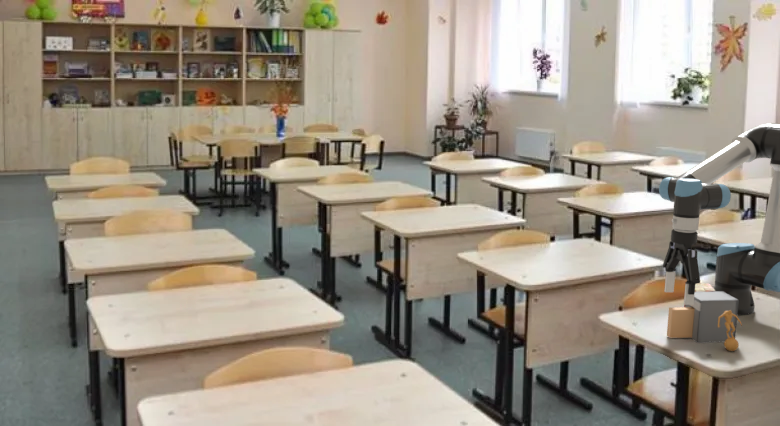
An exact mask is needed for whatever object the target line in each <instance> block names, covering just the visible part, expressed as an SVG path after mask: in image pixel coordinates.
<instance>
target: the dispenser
mask: <svg viewBox="0 0 780 426" xmlns="http://www.w3.org/2000/svg"><path fill="white" fill-rule="evenodd" d="M738 304H739V300H738V299H736V298H734V297H732V296H730V295H729V294H727V293H725V292H723V291H698V292H695V294H694V305H685V307H693V308H695V310H694V322H693V334H692V338H691V339H692V340H693V341H695V342H696V343H697V344H698V343H699V344H700V343H703V344H704V343H724V342H725V340H726V339H728V336H727V332H726V331H727V328H726V326H725V322H726V320H725V317H722V318H720V323H719V325H720V327H719V328H718V317H719V316H721V315H722V314H723V313H724V312H725V311H729V310H731V311H732V313H733V314H735V315H736V316H737V317H738V316H739V315H738ZM731 322H733V325H734V327H735V331H734V332H733V333H732V334H733V337H734V338H735V339H736V335H737V324H738V323H737V322H738V320H737V318H736V317H734V316H732V319H731ZM731 330H733V329H732V328H731V327H730V331H729V333H728V334H729V337H730V338H732V336H731Z"/></svg>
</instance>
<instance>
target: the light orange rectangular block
mask: <svg viewBox="0 0 780 426" xmlns="http://www.w3.org/2000/svg"><path fill="white" fill-rule="evenodd" d="M694 310H695V308H693V307H684V306H683V307H681V306H680V307H668V314H667V316H668V317H667V328H666V336H667V337H668V338H669V339H683V338H684V339H685V338H688V339H692V334H693V322H694Z"/></svg>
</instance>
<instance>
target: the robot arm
mask: <svg viewBox="0 0 780 426" xmlns="http://www.w3.org/2000/svg"><path fill="white" fill-rule="evenodd" d="M730 142H731V143H730V144H728V145H726V146H725V147H724V148H722V149H720V150H719V151H717V152H716V153H714V154H712V155H711V156H709V157H707V158H706V159H704V160H703V161H701V162H699V163H698V164H697V165H695V166H693V167H692V168H690V169H689V170H687V171H685V172H684V173H682V174H681V175H679V176H677V177H673V176H672V177H668V176H667V177H664V178H663V179H662V180H661V181H660V183H659V187H658V191H659V192H658V193H659V196H660V197H661V198H662V199H663V200H665V201H669V202H671V203H673V213H672V219H671V223H672V226H671V227H672V229H671V232H670V234H671V235H670V241H669V243H668V250H667V252H666V255H665V258H664V261H663V263H662V268H664V269H665V270H664V271H665V280H664V293H674V292H675V291H674V290H675V283H676V282H675V280H676V271H677V269H676V268H677V266H678V265H679V263H681V264H682V265H683V271H684V273H685V277H686V281H685V284H686V285H684V298H683V305H684V304H685V305H694V294H695V284H697V283H701V276H700V270H699V269H700V268H699V263H698V250H697V249H695V250H694V249H693V248H692V247H693V245H696V244H697V243H698V235H699V233H698V232H697V231H698V230H699V224H700V214H701V213H700V212H701V210H718V209H721V208H722V209H723V208H725V207H727V206H728V205H729V203H730V202H731V196H732V194H731V193H732V192H731V191H730V188H729V187H728V186H726V184H722V183H715V182H716V181H718V180H720V179H721V178H722V177H724V176H726V175H727V174H729V173H730V172H732V171H733V170H735V169H736V168H739V166H741V165H743V164H744V163H752V162H753V161H754V160H757V159H758V160H759V159H768V160H769V159H770V162H769V165H770V166H771V167H772V169H773V173H772V180H771V184H770V185H771V186H770V189H769V196H768V202H767V206H766V212H765V218H764V223H763V229H762V233H761V239H760V242H758V243H757V244H756V245H755V244H753V243H748V242H729V243H722V244H720V245H719V246H718V248H717V255H716V260H715V261H716V263H715V264H716V265H715V274H714V275H715V276H714V286H713V288H714V290H715V291H723V292H725V293H727V294H729V295H730V296H732V297H734V298H736V299H738V300H739V304H738V315H737V316H748V315H751V314H754V313H755V309H756V308H755V306H756V305H755V301H754V298H753V293H752V287H756V288H759V289H764V290H765V291H768V292H774V293H780V123H776V122H775V123H774V122H771V123H763V124H760V125H757V126H756V125H755V126H754V127H751V128H749V129H747V130H745V131H744V132H741V133H739V135H737V136H735V137H734V138H733V139H732V140H731V141H730Z"/></svg>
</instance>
